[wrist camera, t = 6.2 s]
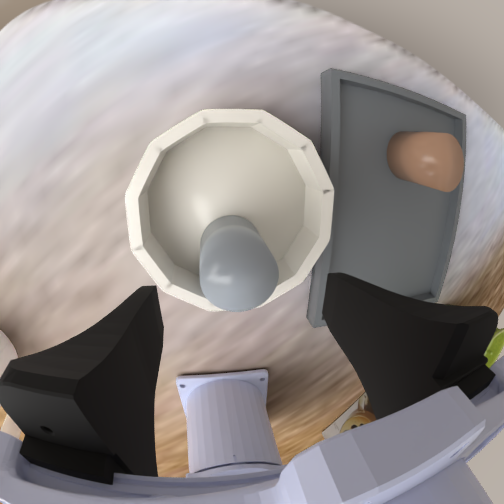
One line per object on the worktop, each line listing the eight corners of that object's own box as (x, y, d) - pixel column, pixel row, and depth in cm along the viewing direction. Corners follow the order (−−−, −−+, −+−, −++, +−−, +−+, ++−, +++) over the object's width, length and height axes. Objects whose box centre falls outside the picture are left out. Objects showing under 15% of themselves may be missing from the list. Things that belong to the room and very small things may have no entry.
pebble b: (419, 182, 18) (461, 194, 14) (385, 178, 17) (427, 189, 13) (422, 136, 17) (464, 139, 12) (387, 126, 16) (431, 127, 12)
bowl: (305, 278, 20) (322, 300, 17) (150, 288, 18) (143, 314, 15) (314, 121, 16) (336, 117, 13) (136, 122, 14) (121, 116, 11)
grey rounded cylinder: (261, 268, 18) (279, 305, 14) (204, 275, 18) (205, 316, 13) (258, 212, 17) (277, 236, 12) (196, 219, 16) (194, 246, 12)
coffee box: (349, 432, 31) (392, 515, 17) (319, 432, 29) (362, 528, 14) (393, 392, 29) (451, 477, 15) (367, 388, 27) (431, 490, 12)
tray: (428, 294, 23) (437, 301, 22) (306, 316, 21) (313, 327, 20) (454, 114, 17) (465, 115, 15) (320, 73, 14) (330, 68, 13)
